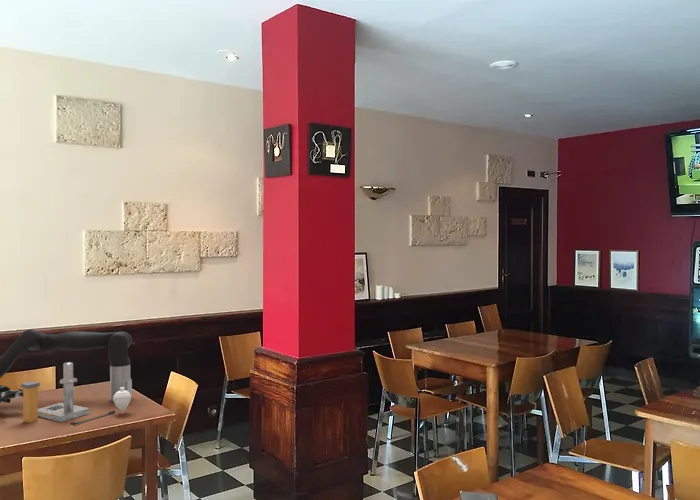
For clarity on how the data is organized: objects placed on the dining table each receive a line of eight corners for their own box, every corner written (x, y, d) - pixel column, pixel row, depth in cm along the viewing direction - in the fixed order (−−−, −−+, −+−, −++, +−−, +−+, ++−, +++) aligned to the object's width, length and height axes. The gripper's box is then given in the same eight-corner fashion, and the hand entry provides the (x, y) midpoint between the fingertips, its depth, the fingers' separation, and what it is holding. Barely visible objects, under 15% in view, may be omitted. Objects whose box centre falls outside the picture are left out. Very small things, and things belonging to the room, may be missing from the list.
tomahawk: (78, 429, 249) (78, 427, 249) (69, 425, 253) (69, 422, 253) (122, 416, 267) (122, 413, 267) (113, 412, 270) (113, 409, 270)
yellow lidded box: (21, 421, 256) (20, 383, 256) (32, 418, 261) (32, 381, 261) (28, 423, 254) (28, 385, 254) (40, 420, 259) (39, 382, 258)
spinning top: (126, 410, 273) (126, 384, 273) (134, 413, 268) (133, 387, 268) (110, 413, 268) (110, 387, 268) (117, 417, 263) (117, 390, 262)
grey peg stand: (33, 415, 264) (33, 362, 264) (61, 407, 277) (61, 356, 276) (61, 422, 255) (60, 367, 255) (89, 413, 268) (88, 361, 267)
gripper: (-19, 388, 263) (3, 393, 255) (12, 381, 275) (34, 385, 267) (-19, 405, 263) (3, 410, 255) (12, 397, 275) (34, 402, 268)
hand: (19, 398), depth 261 cm, fingers open, 8 cm apart
